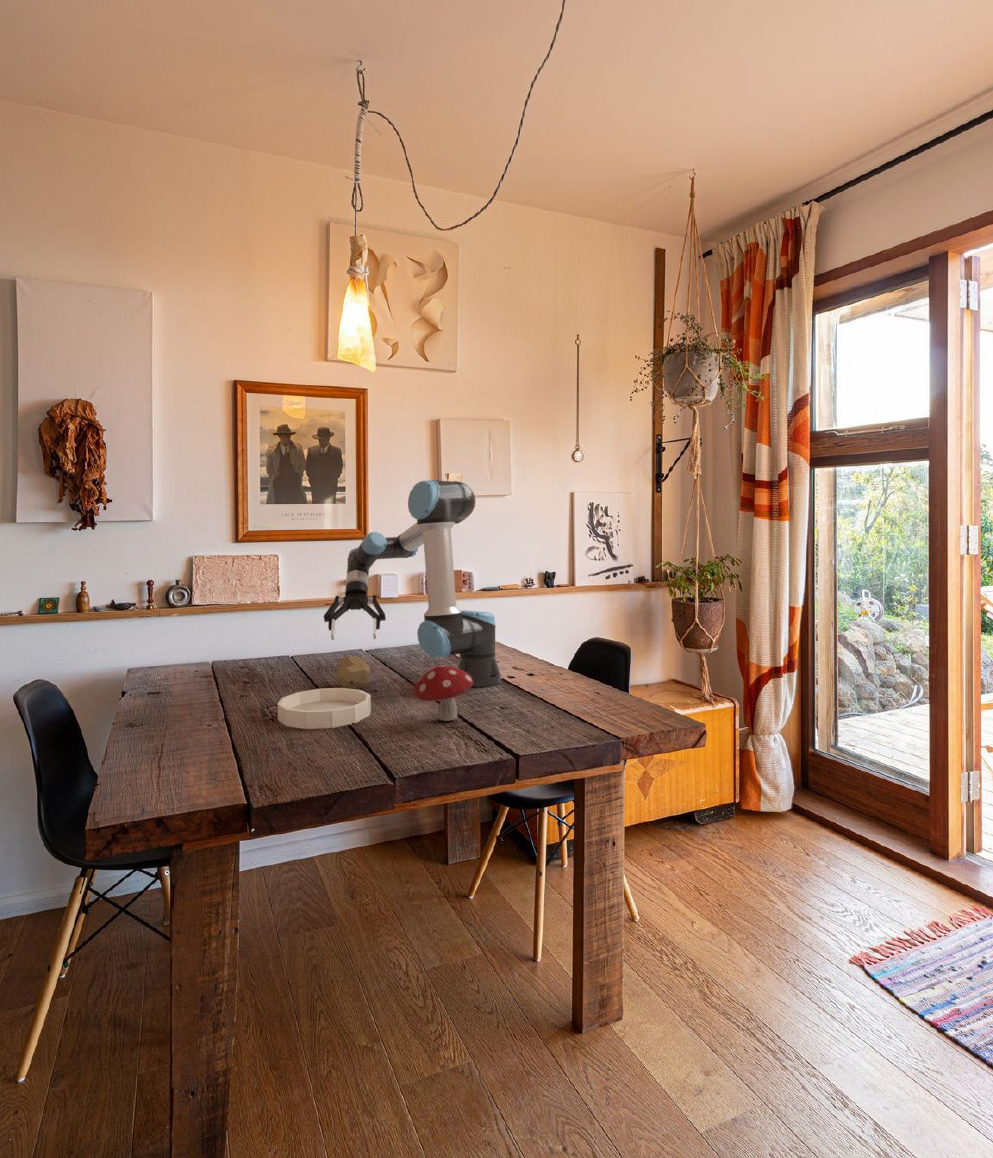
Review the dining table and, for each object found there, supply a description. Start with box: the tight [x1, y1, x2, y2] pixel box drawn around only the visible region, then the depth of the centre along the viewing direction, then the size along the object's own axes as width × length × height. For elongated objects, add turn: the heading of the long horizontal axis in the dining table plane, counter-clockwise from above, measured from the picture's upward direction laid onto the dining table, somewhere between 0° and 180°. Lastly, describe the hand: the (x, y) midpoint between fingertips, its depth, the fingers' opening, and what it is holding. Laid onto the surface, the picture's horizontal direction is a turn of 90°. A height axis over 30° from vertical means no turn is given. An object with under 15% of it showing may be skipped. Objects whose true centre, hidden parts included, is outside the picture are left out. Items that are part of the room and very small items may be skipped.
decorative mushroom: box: [413, 665, 474, 722], centre depth 181 cm, size 16×16×15 cm
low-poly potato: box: [336, 655, 371, 690], centre depth 217 cm, size 15×11×12 cm
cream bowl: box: [276, 687, 372, 730], centre depth 188 cm, size 24×24×4 cm
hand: (353, 637), depth 226 cm, fingers open, 13 cm apart
